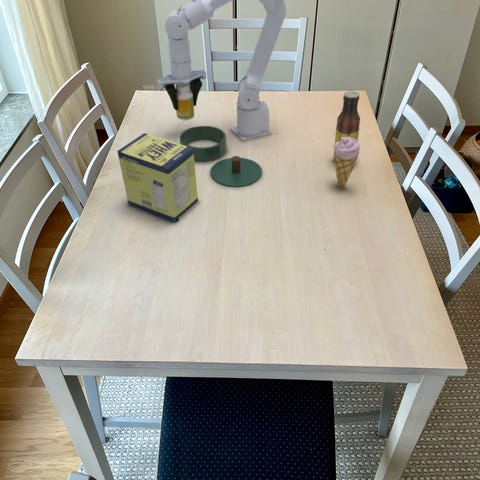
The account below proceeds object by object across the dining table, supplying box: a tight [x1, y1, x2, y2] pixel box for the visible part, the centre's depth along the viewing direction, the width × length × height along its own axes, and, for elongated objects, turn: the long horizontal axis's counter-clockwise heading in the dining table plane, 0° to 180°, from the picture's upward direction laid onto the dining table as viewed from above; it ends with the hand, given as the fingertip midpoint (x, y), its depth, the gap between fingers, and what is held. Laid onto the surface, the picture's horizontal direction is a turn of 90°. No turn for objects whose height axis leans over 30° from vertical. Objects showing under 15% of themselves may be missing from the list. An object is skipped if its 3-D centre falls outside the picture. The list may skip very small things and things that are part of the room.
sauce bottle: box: [333, 90, 361, 163], centre depth 135 cm, size 7×6×20 cm
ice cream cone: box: [331, 137, 361, 189], centre depth 128 cm, size 7×6×15 cm
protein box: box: [117, 132, 199, 223], centre depth 124 cm, size 10×16×16 cm
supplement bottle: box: [175, 83, 195, 121], centre depth 148 cm, size 5×5×10 cm
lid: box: [209, 155, 263, 188], centre depth 137 cm, size 14×14×5 cm
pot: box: [179, 125, 228, 163], centre depth 145 cm, size 13×14×5 cm
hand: (184, 106), depth 149 cm, fingers closed on supplement bottle, 5 cm apart
